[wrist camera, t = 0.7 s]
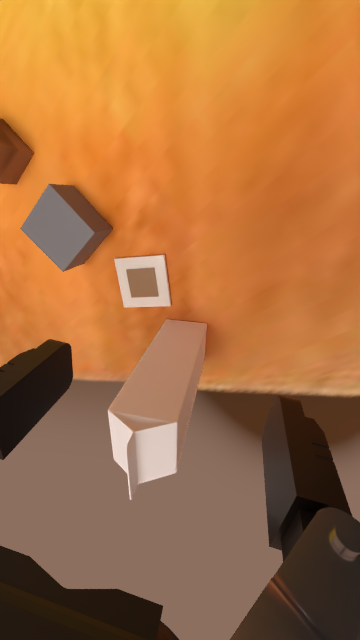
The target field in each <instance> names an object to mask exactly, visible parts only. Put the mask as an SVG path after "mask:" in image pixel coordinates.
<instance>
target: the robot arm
mask: <svg viewBox="0 0 360 640" xmlns="http://www.w3.org/2000/svg"><path fill="white" fill-rule="evenodd" d="M72 378H73V368H72V352H71V346H70V344H68V343H64V342H60V341H56V340H52V339H49V340H47V341H46V342H44V343H43V344H41V345H40V346H39V347H37V348H36V349H34V348H33V349H31V350H28V351H26V352H23V353H21V354H19V355H17V356H16V357H14V358H13V359H11V360H10V361H9V362H8V363H7V364H4V365H3V366H1V367H0V459H2V460H4V459H5V457H6V456H7V455H8V454H9V453H10V452H11V451H12V450H13V449H14V448H15V447H16V446H17V444H18V443H19V442H20V441H21V440H22V439H23V438H24V437H25V436H26V435H27V433H28V432H29V431H30V430H31V429H32V428H33V427H34V426H35V425H36V424H37V423H38V422H39V420H40V419H41V418H42V417H43V416H44V415H45V414H46V413H47V412H48V411H49V409H50V408H51V407H52V406H53V405H54V404H55V403H56V402H57V401H58V399H60V397H61V396H62V395H63V394H64V393H65V392H66V391H67V390H68V388H69V387H70V385H71V382H72ZM262 450H263V464H264V478H265V492H266V506H267V521H268V534H269V546H270V547H273V548H276V549H279V550H282V554H283V563H282V565H281V566H280V568H279V569H278V571H277V572H276V574H275V575H274V577H273V578H271V580H270V581H269V583H268V584H267V586H266V587H265V588H264V590H263V591H262V593H261V594H260V596H259V597H258V599H257V600H256V602H255V603H254V605H253V606H252V608H251V609H250V611H249V612H248V613H247V615H246V616H245V618H244V619H243V621H242V622H241V624H240V625H239V627H238V628H237V630H236V631H235V633H234V634H233V636H232V637H231V639H230V640H360V522H359V521H357V520H356V519H355V518H354V517H353V516H352V514H351V512H350V508H349V506H348V502H347V500H346V496H345V494H344V491H343V488H342V485H341V482H340V479H339V476H338V473H337V470H336V467H335V464H334V462H333V458H332V455H331V452H330V450H329V446H328V443H327V440H326V437H325V434H324V432H323V431H322V429H321V428H320V427H319V425H318V424H317V423H316V421H315V420H314V419H312V418H308V417H305V416H304V412H303V408H302V405H301V402H300V400H297V399H293V398H289V397H285V396H281V395H276V397H275V399H274V401H273V404H272V407H271V409H270V412H269V415H268V417H267V420H266V422H265V425H264V429H263V435H262ZM162 609H163V606H162V605H159V604H156V603H154V602H151V601H148V600H145V599H143V598H140V597H138V596H135V595H132V594H129V593H127V592H124V591H121V590H119V589H66V588H64V587H62V586H61V585H60V584H59V583H58V582H57V581H55V580H54V579H53V578H52V577H51V576H50V575H49V574H48V573H47V572H46V571H45V570H44V569H42V568H41V567H40V566H39V565H38V564H37V563H36V562H35V561H34V560H33V559H32V558H31V557H29V556H26V555H24V554H21V553H19V552H16V551H13V550H10V549H8V548H5V547H2V546H0V640H179V639H178V638H177V637H176V635H175V634H174V633H173V632H172V631H171V630H170V629H169V628H168V627H167V626H166V625H164V623H162V622H161V621H160V619H161V614H162Z"/></svg>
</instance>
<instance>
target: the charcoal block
mask: <svg viewBox="0 0 360 640" xmlns="http://www.w3.org/2000/svg"><path fill="white" fill-rule="evenodd" d="M112 229H113V228H112V227H111V226H110V225H109V224H108V223H107V221H106V220H105V219H104V218H103V217H102V216H101V215H100V214H99V213H98V212H97V211H96V210H95V208H94V207H93V206H92V205H91V204H90V203H89V202H88V201H87V200H86V199H85V198H84V196H83V195H82V194H81V193H80V192H79V191H78V190H77V189H76V188H75V187H74V186H69V185H56V184H49V185H48V186H47V188H46V189H45V191H44V193H43V194H42V196H41V197H40V199H39V200H38V202H37V204H36V205H35V207H34V208H33V210H32V211H31V213H30V214H29V216H28V218H27V219H26V221H25V222H24V224H23V225H22V227H21V230H22V231H23V232H24V233H25V234H26V235H27V236H28V237H29V238H30V239H31V240H32V241H33V242H34V243H35V244H36V245H37V246H38V247H39V248H40V249H41V250H42V251H43V252H44V253H45V254H46V255H47V256H48V257H49V258H50V259H51V260H52V261H53V262H54V263H55V264H56V265H57V266H58V267H59V268H60V269H61V270H62V271H63V272H64V271H66V270H69V269H71V268H74V267H76V266H79V265H81V264H84V262H85V261H86V260H87V259H88V258H89V257H90V255H91V254H92V253H93V252H94V251H95V250H96V248H97V247H98V246H99V245H100V244H101V242H102V241H103V240H104V239H105V238H106V237H107V235H108V234H109V233H110V232H111V231H112Z"/></svg>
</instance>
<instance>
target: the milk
mask: <svg viewBox="0 0 360 640" xmlns="http://www.w3.org/2000/svg"><path fill="white" fill-rule="evenodd" d="M206 331H207V323H198V322H189V321H180V320H171V319H166V321H165V322H164V324H163V325H162V327H161V328H160V330H159V331H158V333H157V335H156V336H155V338H154V339H153V341H152V342H151V344H150V345H149V347H148V348H147V350H146V352H145V353H144V355H143V356H142V358H141V359H140V361H139V362H138V364H137V365H136V367H135V368H134V370H133V372H132V373H131V375H130V376H129V378H128V379H127V381H126V382H125V384H124V386H123V387H122V388H121V390H120V392H119V393H118V395H117V396H116V398H115V399H114V401H113V402H112V404H111V405H110V407H109V409H108V416H109V424H110V432H111V441H112V449H113V456H114V460H115V461H116V462H117V463H118V464H119V465H120V466H121V467H122V469H123V470H124V471H125V472H126V473H127V474H128V484H129V495H130V500H132V498H133V496H134V494H135V491H136V488H137V486H138V484H140V483H143V482H147V481H150V480H154V479H157V478H160V477H164V476H167V475H171V474H174V473H176V472H177V468H178V464H179V460H180V456H181V452H182V448H183V444H184V440H185V436H186V432H187V428H188V424H189V419H190V416H191V412H192V408H193V404H194V400H195V396H196V392H197V388H198V384H199V380H200V376H201V372H202V368H203V364H204V360H205V346H206Z"/></svg>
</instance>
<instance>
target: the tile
mask: <svg viewBox="0 0 360 640" xmlns="http://www.w3.org/2000/svg"><path fill="white" fill-rule="evenodd" d="M114 260H115V265H116V270H117V275H118V280H119V285H120V290H121V294H122V299H123V304H124V307H155V306H171V305H172V304H171V296H170V289H169V281H168V273H167V266H166V258H165V254H163V255H150V256H137V257H124V258H115V259H114Z"/></svg>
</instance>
